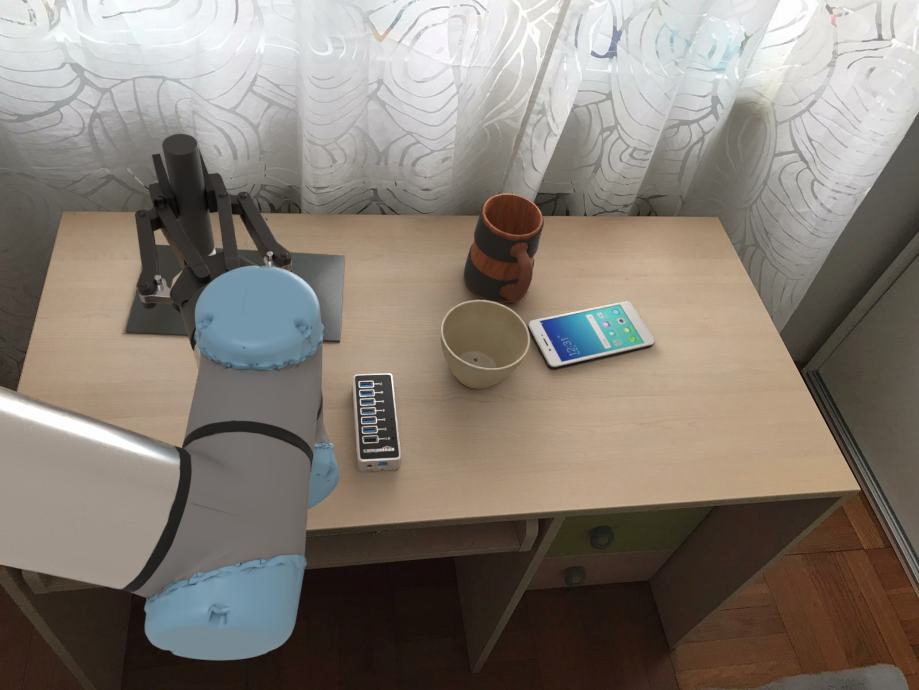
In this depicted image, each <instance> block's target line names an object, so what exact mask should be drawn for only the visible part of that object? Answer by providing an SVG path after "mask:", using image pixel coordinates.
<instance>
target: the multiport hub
mask: <svg viewBox="0 0 919 690" xmlns="http://www.w3.org/2000/svg"><path fill="white" fill-rule="evenodd" d="M351 391H352V405H353V407H352V408H353V420H354V434H355V436H354V437H355V450H356V451H355V453H356V454H355V455H356V467H357V468H356V469H357V471H358V472H360V473H370V472H371V473H372V472H387V471H397V470H399V469H400V466H401V465H400V464H401V461H402V460H401V459H402V452H401V443H400V440H401V439H400V431H399V423H398V422H399V421H398V413H397V404H396V403H397V402H396V394H395V383H394V376H393V374H392V373H390V372H389V373H388V372H387V373H386V372H385V373H382V372H381V373H356V374H354V375H353V377H352V390H351Z"/></svg>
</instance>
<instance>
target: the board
mask: <svg viewBox="0 0 919 690" xmlns="http://www.w3.org/2000/svg"><path fill="white" fill-rule="evenodd" d="M156 249H157V256H158V262H159V269H160V275H161V278H163V279H165V280H166V283H167V286H168V287H169V288H172V287H173V285H174V284H175V282H176V280H177V279H178V277H179V276H180V274H181V272H182V271H183V268H182V266H181V264H180V263H179V261H178V259H177V257H176V256H175V254H174V252H173V250H172V248H171V247H170V245H169V244H156ZM237 249H238V254H239V255H241V256H243V257H245V258H246V259H248V260H250V261H252V262H254V263H256V264H257V265H259V266H264V260H263V258H262V256H261V254H260V253H259V251H258V249H256V250H255V249H239V248H237ZM215 251H216V253H219V252H223V247H215ZM289 252H290V251H289ZM290 253H291V258H292V273H294V274H295V275H297V276H299V277H300V278H302V279H303V280H304V281H305V282H306V283H307V284H308V285H309V286H310V287H311V288H312V289H313V291H314V293H315V294H316V296H317V299H318V301H319V305H320V314H321V323H322V324H323V326H324V330H325V331H324V335H323V342H330V343H331V342H332V343H341V330H342V312H343V296H344V295H343V293H344V277H345V276H344V275H345V257H346V255H343V254H328V253H327V254H326V253H311V252H310V253H307V252H290ZM134 294H135V295H134V299H133V301H132V305H131V308H130V309H131V310H130V312H129V316H128V320H127V322H126V326H125V330H124V333H125V334H139V335H141V334H142V335H162V336H163V335H164V336H186V337H188V334H187V331H186V328H185V324H184V321H183V318H182V315H181V314H180V313H179V312H177V311H176V310H175V309H174V308H173V306H172V304H164V303H157V305H156V306H155V307H154V308H152V309H146V308H144V307H143V306H142V303H141V299H140V296H139V292H138V289H137V288H136V291H135V293H134Z"/></svg>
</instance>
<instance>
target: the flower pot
mask: <svg viewBox="0 0 919 690" xmlns="http://www.w3.org/2000/svg"><path fill="white" fill-rule="evenodd" d="M530 335H531V333H530V331H529V330H528V325H526V322H525V321H524V320H523V319H522V318H521V316H520V315H519V314H518V313H517V312H515V311H514V310H513V309H511V308H510V307H508V306H506V305H505V304H504V305H503V303H496V302H492V301H487V300H484V299H474V300H473V299H472V300H466V301H463V302H460V303H459V304H456V305H454V306H452V308H450V310H448V311H447V313H446V314H445V315H444V317H443V319H442V320H441V325H440V343H441V349H442V353H443V357H444V359H445V362H446V364H447V366H448V368H449V370H450V371H451V373H452V374H453V376H454V377H455V378H456V379H457V380H458V381H459V382H460V383H461V384H463V385H464V386H466V387H468V388H471V389H477V390H478V389H485V388H489V387H491V386H494V385H496V384H498V383H500V382H502V381H503V380H505V379H506V378H507V377H509V376H510V375H511V374H512V373H513V372H514V371H515V370H516V369H517V368H518V367H519V365H520V364H522V362H523V360H524V359H525V358H526V355H527V353H528V351H529V350H530V345H531V336H530Z"/></svg>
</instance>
